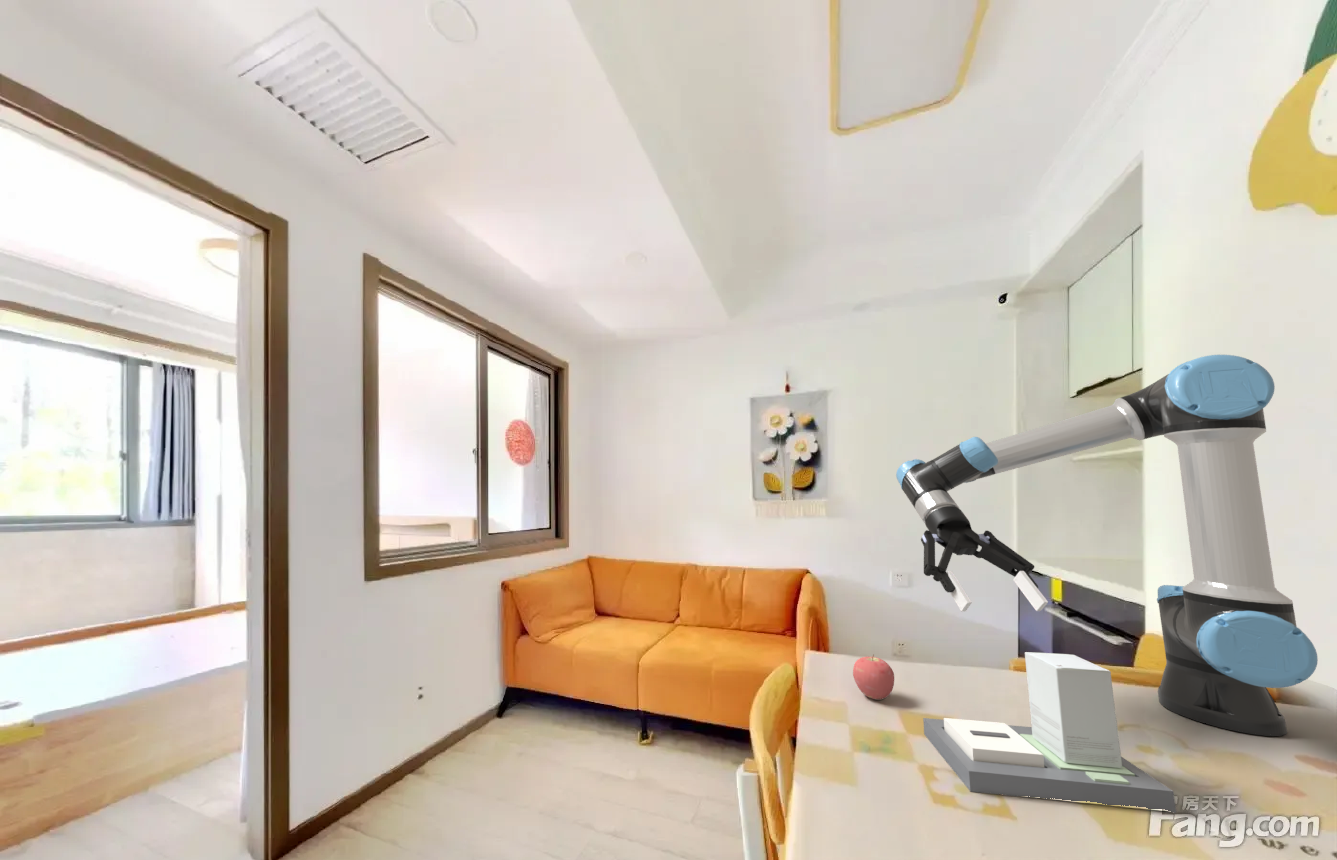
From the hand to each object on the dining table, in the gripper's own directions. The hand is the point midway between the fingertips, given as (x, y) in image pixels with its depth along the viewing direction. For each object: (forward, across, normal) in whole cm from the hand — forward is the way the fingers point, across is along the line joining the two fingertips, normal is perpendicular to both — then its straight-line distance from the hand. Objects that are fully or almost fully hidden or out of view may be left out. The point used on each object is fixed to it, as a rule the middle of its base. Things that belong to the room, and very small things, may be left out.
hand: (1004, 607), depth 79 cm
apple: (+4, +18, -24) cm, 30 cm away
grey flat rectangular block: (+21, +6, -8) cm, 23 cm away
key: (+22, 0, -7) cm, 23 cm away
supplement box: (+20, 0, -5) cm, 21 cm away
